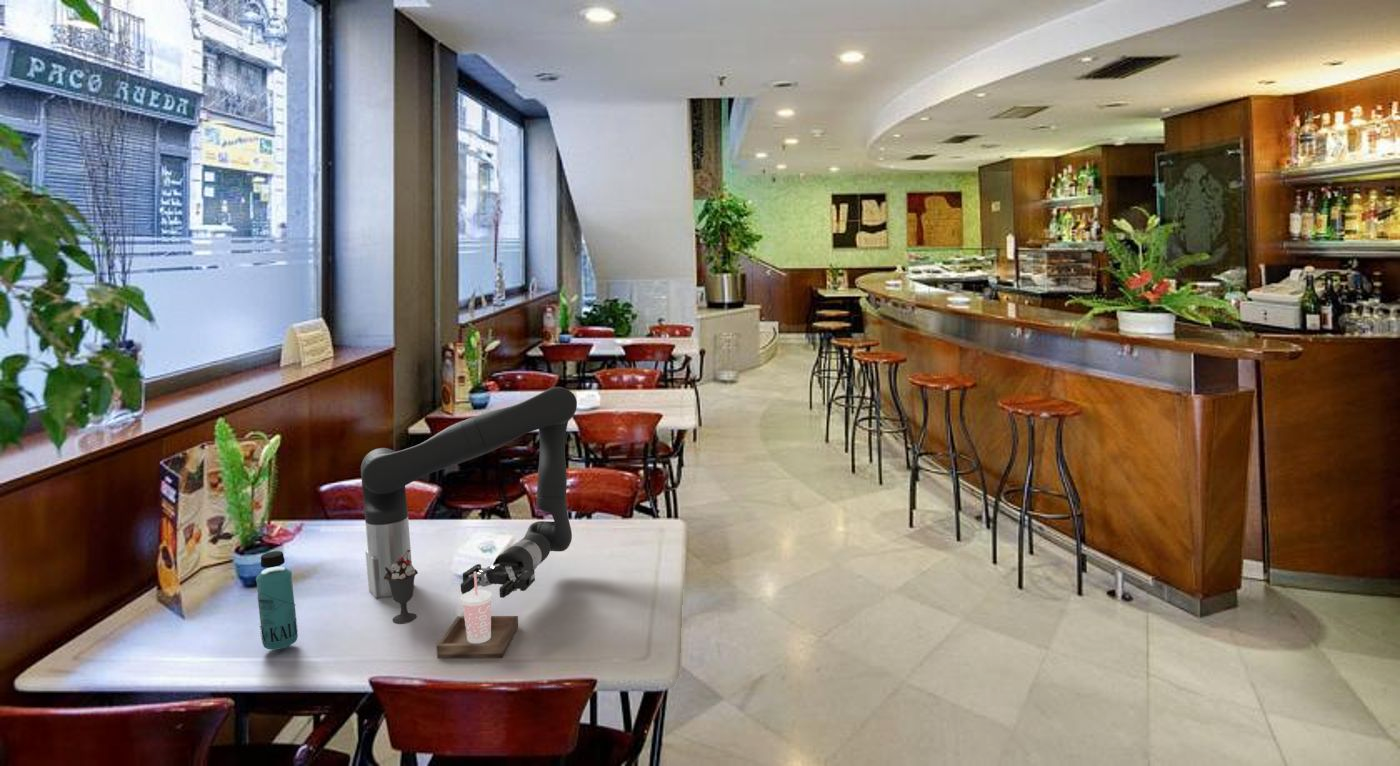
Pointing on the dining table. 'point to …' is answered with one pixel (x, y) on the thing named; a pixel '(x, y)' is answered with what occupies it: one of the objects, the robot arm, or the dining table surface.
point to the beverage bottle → (276, 602)
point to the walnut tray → (495, 647)
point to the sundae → (402, 587)
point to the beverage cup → (477, 614)
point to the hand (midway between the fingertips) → (482, 591)
